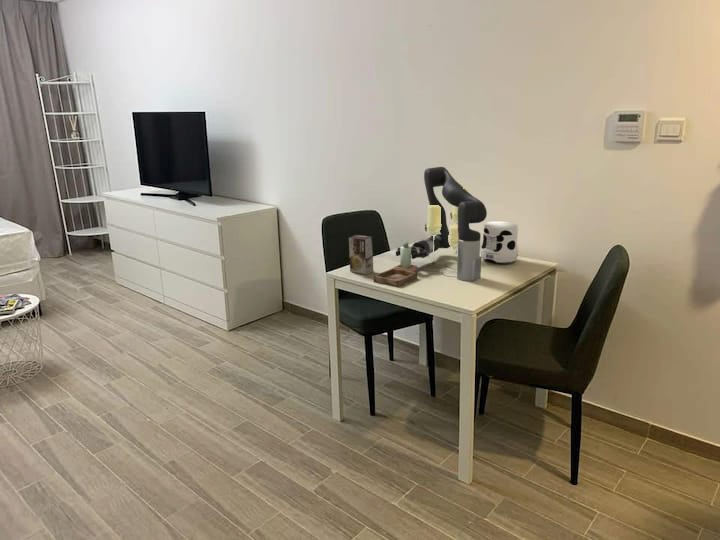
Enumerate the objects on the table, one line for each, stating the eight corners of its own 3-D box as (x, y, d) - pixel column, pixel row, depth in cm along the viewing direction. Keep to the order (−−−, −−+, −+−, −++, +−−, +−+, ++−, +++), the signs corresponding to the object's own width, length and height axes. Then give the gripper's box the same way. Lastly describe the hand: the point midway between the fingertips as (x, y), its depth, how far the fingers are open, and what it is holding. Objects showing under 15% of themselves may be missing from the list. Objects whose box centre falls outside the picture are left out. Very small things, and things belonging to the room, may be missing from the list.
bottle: (412, 270, 246) (413, 242, 242) (407, 272, 242) (407, 244, 238) (404, 268, 249) (404, 241, 245) (398, 271, 245) (398, 243, 241)
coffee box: (373, 271, 246) (373, 236, 241) (365, 274, 241) (365, 239, 236) (357, 268, 251) (356, 234, 246) (349, 271, 246) (348, 237, 241)
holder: (416, 270, 246) (416, 265, 245) (408, 274, 240) (408, 269, 240) (403, 267, 250) (403, 263, 250) (394, 271, 245) (394, 266, 244)
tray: (417, 278, 234) (417, 272, 234) (398, 286, 223) (398, 281, 223) (393, 273, 242) (393, 268, 241) (373, 281, 231) (373, 276, 230)
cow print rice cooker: (514, 257, 265) (516, 220, 260) (520, 266, 248) (523, 228, 243) (478, 256, 267) (480, 220, 262) (482, 266, 250) (484, 228, 245)
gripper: (410, 238, 258) (391, 245, 246) (436, 242, 249) (418, 249, 237) (410, 253, 260) (391, 260, 248) (436, 257, 252) (417, 265, 239)
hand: (404, 255), depth 243 cm, fingers open, 8 cm apart
